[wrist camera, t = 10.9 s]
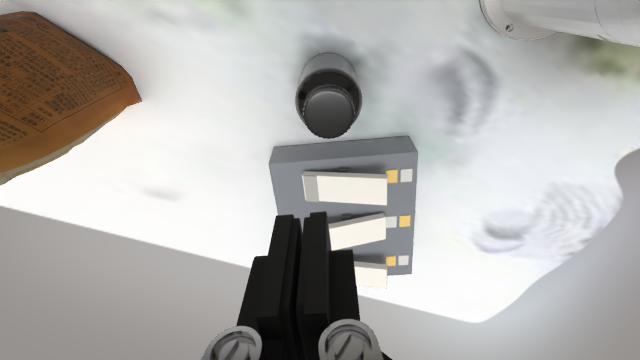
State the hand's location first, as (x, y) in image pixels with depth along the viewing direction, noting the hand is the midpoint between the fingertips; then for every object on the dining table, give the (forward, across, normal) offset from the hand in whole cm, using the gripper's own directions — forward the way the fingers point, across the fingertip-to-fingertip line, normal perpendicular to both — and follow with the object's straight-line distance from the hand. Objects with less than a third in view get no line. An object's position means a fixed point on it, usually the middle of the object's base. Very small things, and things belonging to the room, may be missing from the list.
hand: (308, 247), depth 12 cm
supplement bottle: (+33, -1, +3) cm, 33 cm away
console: (+33, -1, +21) cm, 39 cm away
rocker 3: (+26, -1, +28) cm, 38 cm away
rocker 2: (+26, -1, +21) cm, 33 cm away
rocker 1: (+26, -2, +14) cm, 29 cm away
